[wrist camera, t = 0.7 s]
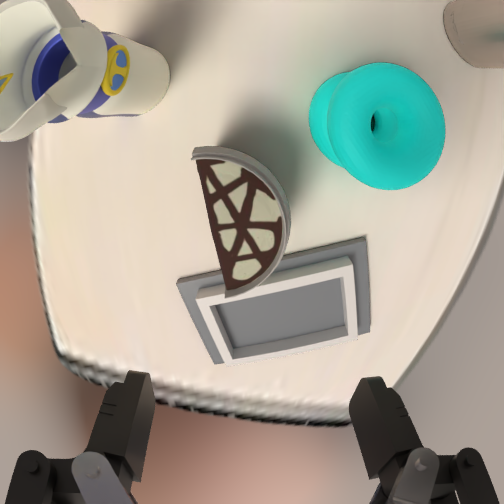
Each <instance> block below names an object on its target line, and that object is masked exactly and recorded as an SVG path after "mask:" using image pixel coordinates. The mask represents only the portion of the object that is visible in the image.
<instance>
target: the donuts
mask: <svg viewBox="0 0 504 504" xmlns="http://www.w3.org/2000/svg"><path fill="white" fill-rule="evenodd" d="M373 115H374V118H375V126H374V129H373V131H371V119H372V116H373ZM309 126H310V131H311V134H312V137H313V139H314V141H315V143H316V145H317V147H318V148H319V150H320V151H321V152H322V153H323V154H324V155H325V156H326V157H327V158H328V159H329V160H331V161H332V162H333V163H335V164H337V165H338V166H341V167H343V168H345V169H346V170H347V171H348V172H349V173H350V174H351V175H352V176H353V177H355V178H356V179H358V180H359V181H361V182H362V183H364V184H366V185H368V186H371V187H374V188H377V189H383V190H399V189H403V188H407V187H410V186H412V185H414V184H416V183H418V182H419V181H421V180H422V179H423V178H425V177H426V176H427V175H428V174H429V173H430V172H431V171H432V169H433V168H434V167H435V165H436V164H437V162H438V160H439V158H440V156H441V153H442V150H443V147H444V142H445V120H444V115H443V111H442V108H441V105H440V103H439V101H438V99H437V97H436V95H435V94H434V92H433V91H432V89H431V88H430V87H429V85H428V84H427V83H426V82H425V81H424V80H423V79H422V78H421V77H419V76H418V75H417V74H415V73H414V72H412V71H411V70H409V69H407V68H405V67H402V66H399V65H396V64H392V63H384V62H379V63H371V64H367V65H363V66H361V67H358V68H356V69H355V70H353V71H351V72H345V73H341V74H338V75H335V76H333V77H331V78H330V79H328V80H327V81H326V82H324V83H323V84H322V85H321V86H320V87H319V89H318V90H317V91H316V93H315V95H314V97H313V99H312V102H311V105H310V110H309Z"/></svg>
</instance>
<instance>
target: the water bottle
mask: <svg viewBox="0 0 504 504" xmlns="http://www.w3.org/2000/svg"><path fill="white" fill-rule="evenodd" d="M169 82H170V70H169V66H168V63H167V61H166V59H165V58H164V57H163V55H162V54H161V53H159V52H158V51H157V50H155V49H153V48H150V47H148V46H145V45H142V44H140V43H137V42H135V41H132V40H130V39H128V38H126V37H124V36H121V35H119V34H115V33H111V32H101V31H100V30H99V29H98V28H97V27H96V26H95V25H94V24H92V23H90V22H88V21H84V20H80V18H79V16H78V15H77V13H76V11H75V10H74V8H73V7H72V6H71V4H70V3H69V2H68V1H67V0H7V1H5V2H3V3H2V4H0V141H2V142H10V141H15V140H19V139H21V138H24V137H26V136H27V135H29V134H31V133H32V132H34V131H35V130H36V129H38V128H39V127H41V126H42V125H44V124H45V123H60V122H64V121H67V120H69V119H71V118H73V117H74V116H78V117H83V118H98V117H109V116H138V115H141V114H144V113H146V112H148V111H150V110H151V109H153V108H154V107H155V106H156V105H157V104H158V103H159V102H160V101H161V100H162V98H163V97H164V95H165V93H166V91H167V89H168V86H169Z"/></svg>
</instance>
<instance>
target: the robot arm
mask: <svg viewBox="0 0 504 504" xmlns="http://www.w3.org/2000/svg"><path fill="white" fill-rule="evenodd" d="M444 25H445V30H446V33H447V35H448V38H449V40H450V42H451V44H452V45H453V47H454V48H455V50H456V51H457V53H458V54H459V55H460V56H461V57H462V58H463V59H464V60H465V61H466V62H467V63H469V64H471V65H472V66H475V67H477V68H504V0H456V1H453V2H451V3H449V4H448V5H447V6H446V8H445V11H444ZM154 410H155V396H154V392H153V387H152V383H151V378H150V374H149V373H145V372H138V371H132V370H129V371H128V373H127V375H126V378H125V381H124V383H119V382H115V383H114V384H113V385H112V386H111V387H110V388H109V389H108V390H107V391H106V394H105V396H104V399H103V402H102V405H101V407H100V410H99V414H98V416H97V419H96V422H95V425H94V427H93V430H92V433H91V436H90V440H89V443H88V446H87V448H86V449H85V451H84V452H83V453H81V454H80V455H78V456H77V457H75V458H72V459H47V458H46V457H45V456H44V455H43V454H42V453H41V452H38V451H35V450H29V451H25V452H23V453H22V454H21V455H20V456H19V458H18V460H17V463H16V466H15V469H14V472H13V475H12V479H11V483H10V486H9V490H8V494H7V497H6V502H5V504H138V502H137V501H136V499H135V498H134V496H133V495H132V493H131V491H130V490H131V484H132V481H136V482H141V477H142V472H143V466H144V461H145V455H146V450H147V444H148V440H149V435H150V429H151V425H152V420H153V415H154ZM349 414H350V417H351V421H352V424H353V427H354V430H355V433H356V437H357V440H358V443H359V446H360V449H361V453H362V456H363V460H364V463H365V466H366V469H367V473H368V476H369V479H374V478H378V477H379V479H380V483H379V485H378V487H377V489H376V491H375V493H374V495H373V497H372V499H371V501H370V503H369V504H459V503H458V500H457V497H456V494H455V490H456V491H457V494H458V498H459V501H460V504H499V501H498V498H497V495H496V493H495V490H494V487H493V484H492V482H491V479H490V476H489V474H488V471H487V469H486V467H485V464H484V462H483V459H482V457H481V455H480V453H479V452H478V451H477V450H475V449H473V448H464V449H462V450H461V451H460V452H459V453H458V454H457V455H436V453H435V452H434V451H432V450H431V449H429V448H424V447H423V445H422V443H421V441H420V439H419V436H418V434H417V432H416V430H415V427H414V425H413V423H412V421H411V418H410V416H408V412H407V410H406V408H405V406H404V403H403V401H402V399H401V397H400V396H399V395H398V394H397V393H396V392H395V391H394V390H393V389H392V388H387V387H386V385H385V382H384V380H383V379H382V377H380V376H377V377H367V378H362V379H361V380H360V382H359V384H358V386H357V388H356V390H355V392H354V394H353V396H352V398H351V400H350V403H349Z"/></svg>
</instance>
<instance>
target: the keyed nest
mask: <svg viewBox="0 0 504 504" xmlns="http://www.w3.org/2000/svg"><path fill="white" fill-rule="evenodd" d="M176 285H177V287H178V290H179V292H180V294H181V296H182V298H183V301H184V303H185V305H186V307H187V309H188V311H189V314H190V316H191V318H192V320H193V322H194V324H195V326H196V328H197V330H198V332H199V334H200V337H201V339H202V341H203V343H204V345H205V347H206V349H207V351H208V353H209V355H210V357H211V359H212V360H213V362H214V364H221V363H225V365H226V367H228V366H235V365H241V364H247V363H253V362H259V361H265V360H270V359H275V358H281V357H286V356H291V355H296V354H300V353H305V352H309V351H314V350H318V349H323V348H327V347H331V346H335V345H339V344H343V343H347V342H351V341H355V340H358V335H361V334H365V333H368V332H370V302H369V278H368V262H367V249H366V240H365V239H364V238H363V237H362V238H357V239H353V240H349V241H345V242H340V243H336V244H332V245H328V246H323V247H319V248H315V249H311V250H306V251H302V252H298V253H293V254H289V255H285V256H283V257H282V259H281V261H280V263H279V264H278V266H277V267H276V268H275V270H274V271H273V272H272V273H271V274H270V275H269V276H268V277H267V278H266V279H265V280H264V281H263V282H262V283H261V284H260V285H258V286H257V287H255V288H254V289H252V290H250V291H248V292H246V293H244V294H241V295H238V296H236V297H231V298H226V299H225V298H224V297H225V283H224V279H223V275H222V271H221V270H218V271H214V272H210V273H205V274H201V275H196V276H192V277H187V278H182V279H178V280H177V283H176Z"/></svg>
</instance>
